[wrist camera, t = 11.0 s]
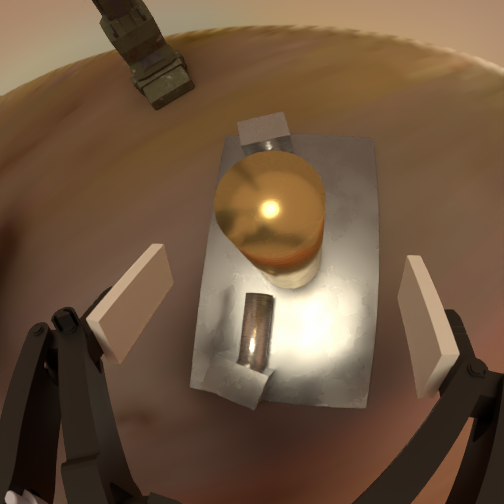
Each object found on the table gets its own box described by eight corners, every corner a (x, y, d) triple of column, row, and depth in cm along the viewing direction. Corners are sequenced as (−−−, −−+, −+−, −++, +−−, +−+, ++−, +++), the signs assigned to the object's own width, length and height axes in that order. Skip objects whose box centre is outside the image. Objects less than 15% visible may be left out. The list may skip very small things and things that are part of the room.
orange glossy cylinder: (250, 279, 24) (199, 239, 13) (267, 220, 25) (232, 144, 14) (312, 295, 22) (311, 265, 12) (327, 233, 23) (334, 160, 13)
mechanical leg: (126, 63, 36) (21, -68, 6) (167, 39, 36) (87, -108, 6) (157, 122, 35) (10, -44, 5) (205, 94, 35) (111, -107, 5)
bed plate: (363, 404, 21) (373, 420, 16) (195, 385, 24) (171, 394, 19) (371, 144, 26) (378, 115, 22) (229, 142, 29) (215, 114, 25)
